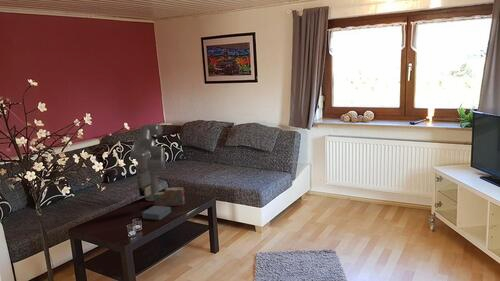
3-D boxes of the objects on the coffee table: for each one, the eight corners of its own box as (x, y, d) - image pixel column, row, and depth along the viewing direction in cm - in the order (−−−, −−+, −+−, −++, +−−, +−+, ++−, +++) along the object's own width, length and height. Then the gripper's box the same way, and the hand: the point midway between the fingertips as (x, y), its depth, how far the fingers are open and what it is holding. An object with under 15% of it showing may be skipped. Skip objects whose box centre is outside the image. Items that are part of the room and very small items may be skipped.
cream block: (139, 196, 271) (138, 188, 269) (144, 193, 276) (143, 185, 275) (146, 196, 268) (145, 188, 267) (151, 193, 274) (150, 185, 272)
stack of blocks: (155, 206, 281) (153, 190, 279) (157, 203, 287) (155, 188, 285) (183, 205, 279) (181, 189, 277) (185, 202, 286) (183, 187, 283)
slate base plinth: (142, 218, 260) (141, 212, 259) (154, 210, 272) (154, 205, 272) (159, 220, 254) (158, 214, 254) (171, 212, 267) (170, 207, 266)
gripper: (138, 174, 259) (141, 198, 263) (153, 166, 274) (156, 190, 278) (129, 173, 262) (133, 197, 266) (145, 166, 277) (148, 189, 281)
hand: (145, 193), depth 272 cm, fingers closed on cream block, 6 cm apart
